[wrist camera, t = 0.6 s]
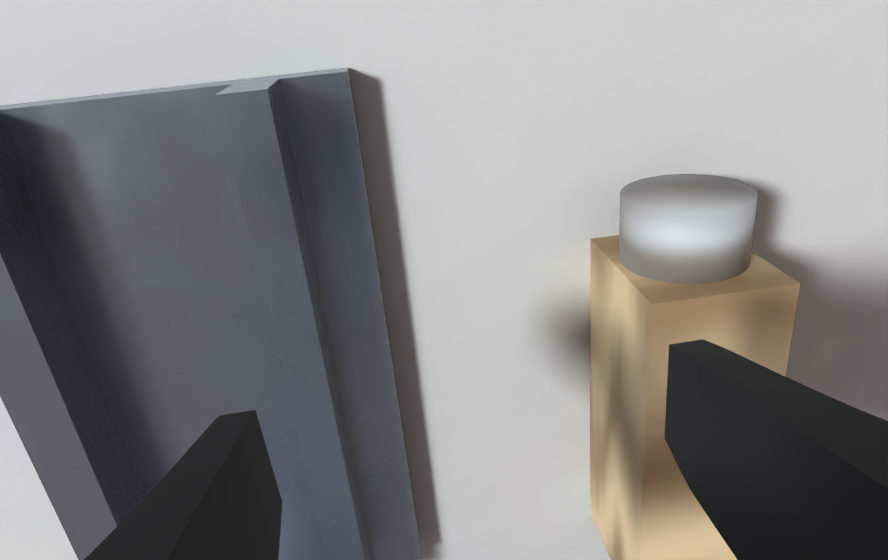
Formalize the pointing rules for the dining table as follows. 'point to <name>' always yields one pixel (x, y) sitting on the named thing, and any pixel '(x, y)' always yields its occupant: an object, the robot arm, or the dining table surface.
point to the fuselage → (647, 348)
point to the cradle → (201, 304)
